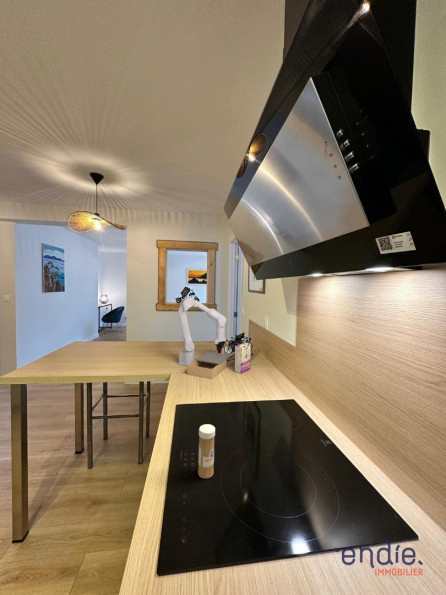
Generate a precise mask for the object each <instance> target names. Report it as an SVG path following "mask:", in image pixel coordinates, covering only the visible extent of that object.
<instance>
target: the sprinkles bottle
mask: <svg viewBox="0 0 446 595" xmlns="http://www.w3.org/2000/svg"><path fill="white" fill-rule="evenodd" d="M198 436H199V438H198V440H199V441H198V470H197V474H198V476H199V478H202V479H210V478H211V477H212V476H213V475H214V472H215V471H214V463H215V436H216V427H215V426H214V425H212V424H209V423H208V424H205V423H204V424H202V425H200V427H199V429H198Z"/></svg>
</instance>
